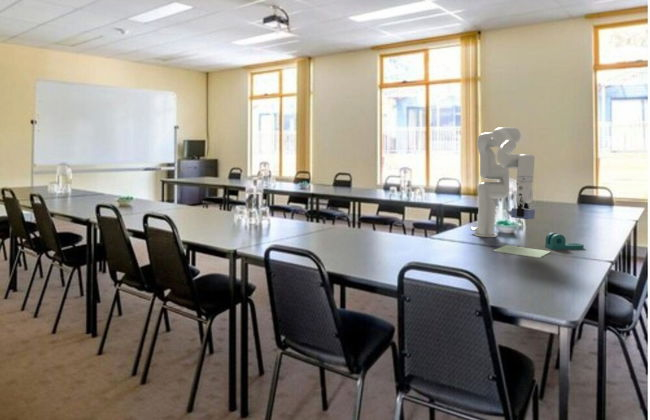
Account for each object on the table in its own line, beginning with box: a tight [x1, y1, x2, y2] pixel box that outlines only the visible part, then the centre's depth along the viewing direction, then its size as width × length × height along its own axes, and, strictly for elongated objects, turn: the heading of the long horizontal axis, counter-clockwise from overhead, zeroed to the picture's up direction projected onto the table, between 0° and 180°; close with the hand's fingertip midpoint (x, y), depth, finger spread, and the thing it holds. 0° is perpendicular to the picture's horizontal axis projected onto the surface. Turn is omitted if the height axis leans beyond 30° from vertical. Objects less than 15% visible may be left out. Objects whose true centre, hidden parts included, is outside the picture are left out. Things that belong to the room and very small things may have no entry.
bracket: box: [544, 231, 585, 251], centre depth 243 cm, size 18×7×8 cm, turn 93°
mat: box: [492, 244, 551, 259], centre depth 233 cm, size 22×18×1 cm
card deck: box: [510, 207, 535, 220], centre depth 233 cm, size 6×9×5 cm, turn 36°
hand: (522, 215), depth 233 cm, fingers closed on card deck, 6 cm apart
